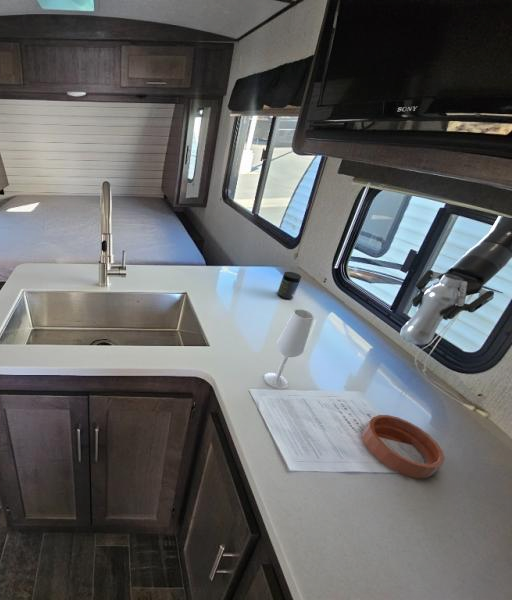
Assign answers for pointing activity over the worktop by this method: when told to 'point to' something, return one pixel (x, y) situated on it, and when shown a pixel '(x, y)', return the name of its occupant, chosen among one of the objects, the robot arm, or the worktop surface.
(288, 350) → the champagne flute
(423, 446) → the ring
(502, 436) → the worktop surface
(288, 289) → the supplement container
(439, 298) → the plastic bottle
